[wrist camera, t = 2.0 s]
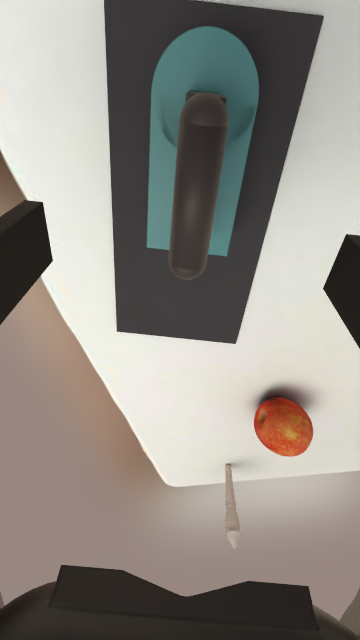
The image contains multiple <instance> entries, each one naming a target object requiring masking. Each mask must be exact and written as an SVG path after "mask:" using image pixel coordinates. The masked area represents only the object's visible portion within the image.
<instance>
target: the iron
mask: <svg viewBox="0 0 360 640" xmlns="http://www.w3.org/2000/svg"><path fill="white" fill-rule="evenodd" d="M258 98H259V80H258V74H257V69H256V66H255V63H254V61H253V58H252V56H251V54H250V52H249V51H248V49H247V48H246V46H245V45H244V44H243V43H242V42H241V40H239V39H238V38H237V37H236V36H235V35H233V34H232V33H230V32H228V31H226V30H224V29H221V28H217V27H213V26H203V27H197V28H194V29H191V30H189V31H187V32H185V33H183V34H181V35H180V36H179V37H177V38H176V39H175V40H174V41H173V42H172V43H171V44H170V45H169V46H168V47H167V49H166V50H165V51H164V53H163V54H162V56H161V58H160V60H159V62H158V64H157V67H156V69H155V73H154V76H153V81H152V89H151V118H150V152H149V185H148V219H147V248H154V249H164V250H169V267H170V269H171V271H172V272H173V273H174V274H175V275H176V276H177V277H179V278H181V279H184V280H191V279H194V278H197V277H198V276H199V275H201V274H202V272H203V271H204V269H205V267H206V264H207V257H208V254H210V255H219V256H227V254H228V249H229V244H230V239H231V234H232V229H233V225H234V220H235V215H236V210H237V205H238V200H239V195H240V190H241V185H242V180H243V175H244V170H245V165H246V160H247V155H248V150H249V145H250V140H251V135H252V130H253V125H254V120H255V115H256V110H257V105H258Z"/></svg>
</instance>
